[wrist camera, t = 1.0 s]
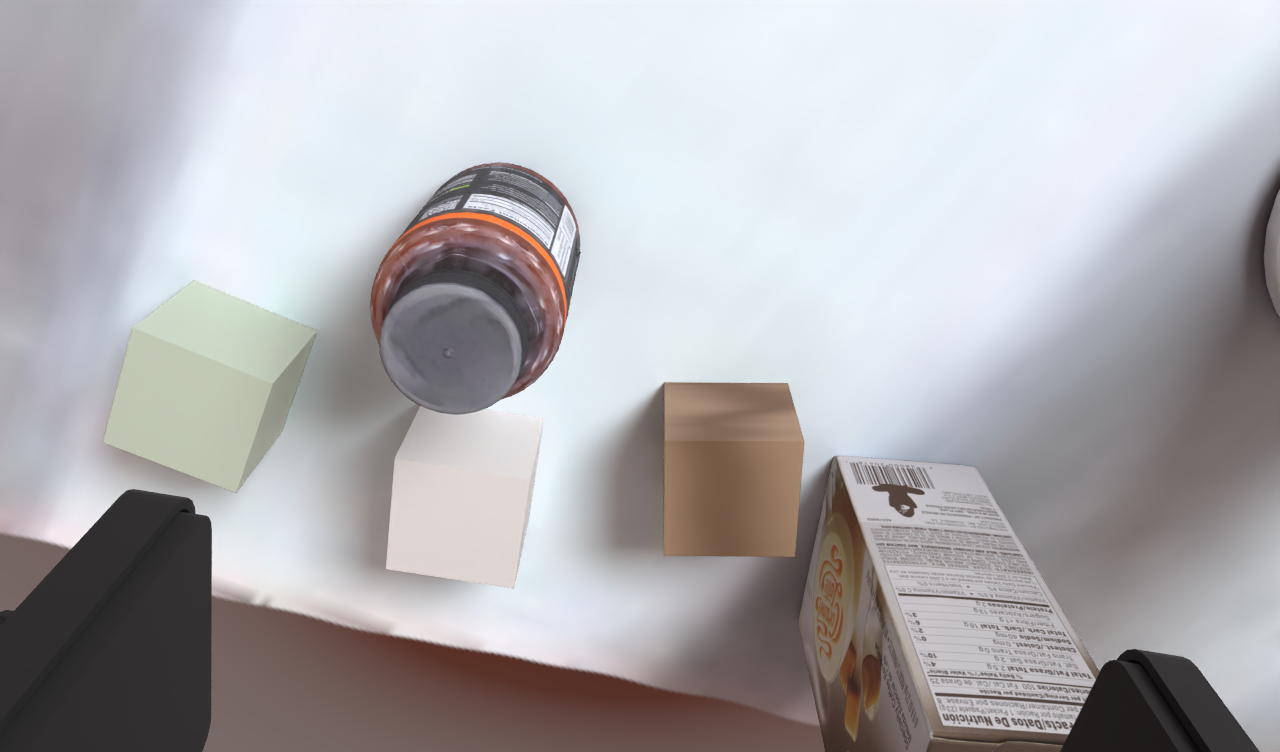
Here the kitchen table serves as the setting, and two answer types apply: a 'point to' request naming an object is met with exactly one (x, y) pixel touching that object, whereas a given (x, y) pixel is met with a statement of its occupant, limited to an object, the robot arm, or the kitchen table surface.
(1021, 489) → the kitchen table surface
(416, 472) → the pale pinkish white cube
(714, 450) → the walnut cube
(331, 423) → the kitchen table surface
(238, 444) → the sage cube
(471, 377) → the supplement bottle
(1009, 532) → the coffee box
